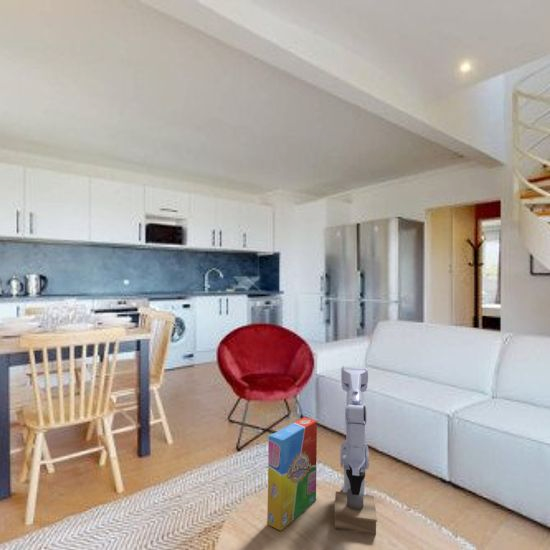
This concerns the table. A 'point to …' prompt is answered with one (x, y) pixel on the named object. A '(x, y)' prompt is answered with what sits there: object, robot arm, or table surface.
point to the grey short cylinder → (354, 500)
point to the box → (355, 525)
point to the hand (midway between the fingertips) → (355, 487)
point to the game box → (291, 472)
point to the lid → (364, 514)
